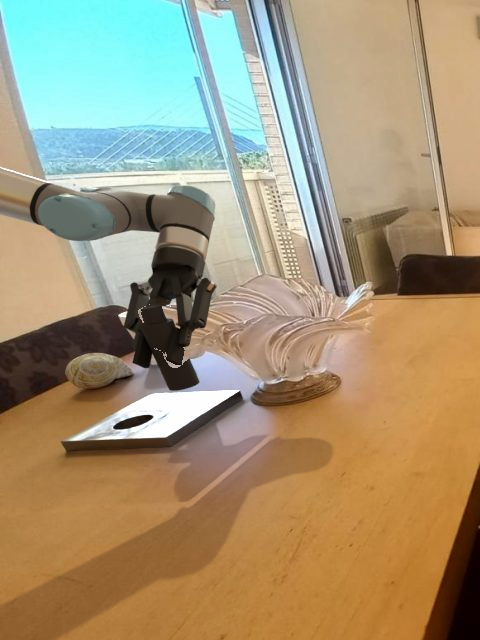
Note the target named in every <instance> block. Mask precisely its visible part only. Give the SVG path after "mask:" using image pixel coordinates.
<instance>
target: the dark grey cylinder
mask: <svg viewBox="0 0 480 640" xmlns="http://www.w3.org/2000/svg"><path fill="white" fill-rule="evenodd" d="M142 307H143V309H141V308H142ZM142 307H140V308H138V309H141V311H142V312H141V315H142V318H143V320H144V322H145V323H142V324H140V328H141V330H142V332H143V334H144V336H145V338H146V341H147V343H148V345H149V347H150V349H151V351H152V354H153V356H154V358H155V360H156V362H157V365H156V366H157V367H158V369H159V371H160V373H161V375H162V378H163V380H164V382H165V384H166V386H167V388H168V390H169V391H170V392H171V391H172V392H178V391H183V390H188V389H190V388H193V387H196V386H197V385H199V384H200V379H199V377H198V374H197V372H196V369H195V368H194V365H193V363H192V361H191V358H190V359H188V360H187V361H185V362H184V363H183V365H181V366H180V367H178V368H172V367H170V366H169V365H168V363H167V362H166V360H165V359H164V356H163V353H164V354H165V352H166V354H167V352H168V348H169V343H170V338H171V333H172V329H173V328H174V327H177V325H175V323H176V322H175V323H174V320H173V319H171V318H166V316H165V314H164V311H163V309H162V307H161V305H160V304H152V305H146V307H144V306H142ZM154 348H155V349H156V348H157V349H158V350H155V349H154ZM159 350H161V351H159ZM162 352H163V353H162ZM165 357H166V356H165Z"/></svg>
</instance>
